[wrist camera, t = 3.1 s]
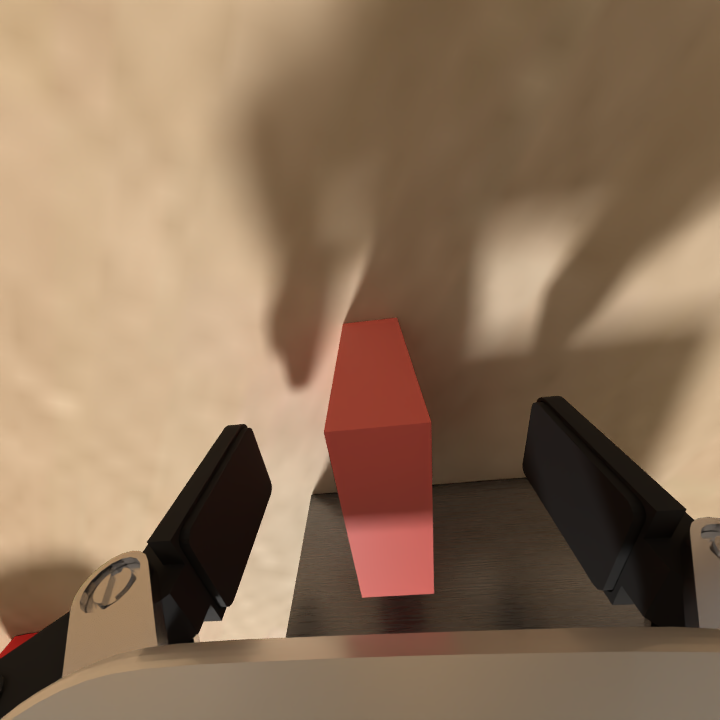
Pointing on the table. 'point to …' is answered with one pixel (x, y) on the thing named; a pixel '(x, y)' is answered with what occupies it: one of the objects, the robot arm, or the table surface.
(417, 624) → the grey slotted box
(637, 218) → the table surface
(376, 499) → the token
